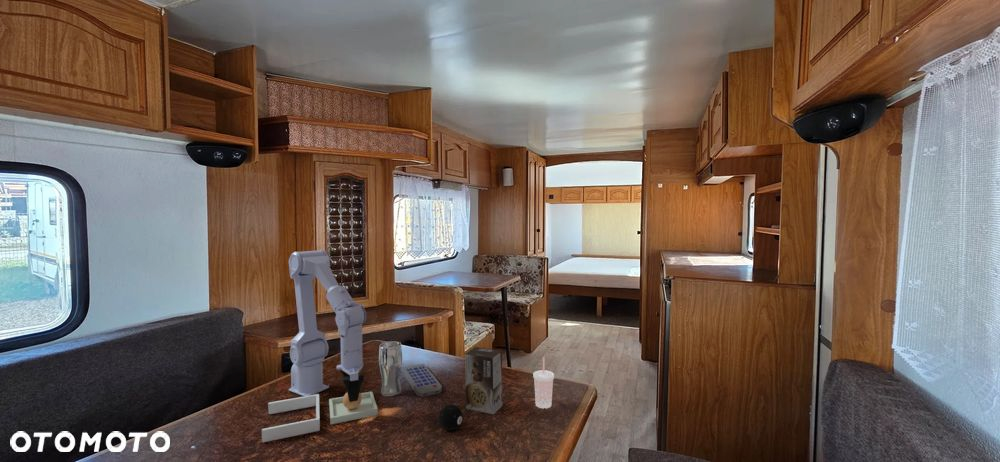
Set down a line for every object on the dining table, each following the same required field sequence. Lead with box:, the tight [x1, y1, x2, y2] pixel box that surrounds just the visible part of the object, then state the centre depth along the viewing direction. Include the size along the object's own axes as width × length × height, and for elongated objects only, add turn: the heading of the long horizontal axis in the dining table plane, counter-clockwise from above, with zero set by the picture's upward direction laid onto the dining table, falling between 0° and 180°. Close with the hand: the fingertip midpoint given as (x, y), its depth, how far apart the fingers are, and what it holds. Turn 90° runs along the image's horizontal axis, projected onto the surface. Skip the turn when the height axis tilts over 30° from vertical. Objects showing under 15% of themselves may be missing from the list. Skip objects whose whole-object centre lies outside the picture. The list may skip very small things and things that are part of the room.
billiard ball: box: [438, 404, 464, 431], centre depth 103 cm, size 6×6×6 cm
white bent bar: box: [261, 393, 321, 444], centre depth 107 cm, size 13×16×3 cm
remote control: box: [401, 363, 443, 398], centre depth 133 cm, size 8×23×2 cm, turn 26°
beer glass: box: [378, 340, 403, 398], centre depth 124 cm, size 7×7×15 cm
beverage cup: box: [532, 356, 555, 409], centre depth 116 cm, size 6×6×14 cm
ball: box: [342, 391, 362, 409], centre depth 113 cm, size 5×5×5 cm
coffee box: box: [464, 346, 503, 415], centre depth 115 cm, size 9×6×16 cm
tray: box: [328, 390, 379, 425], centre depth 113 cm, size 12×12×2 cm
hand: (352, 396), depth 113 cm, fingers open, 6 cm apart
